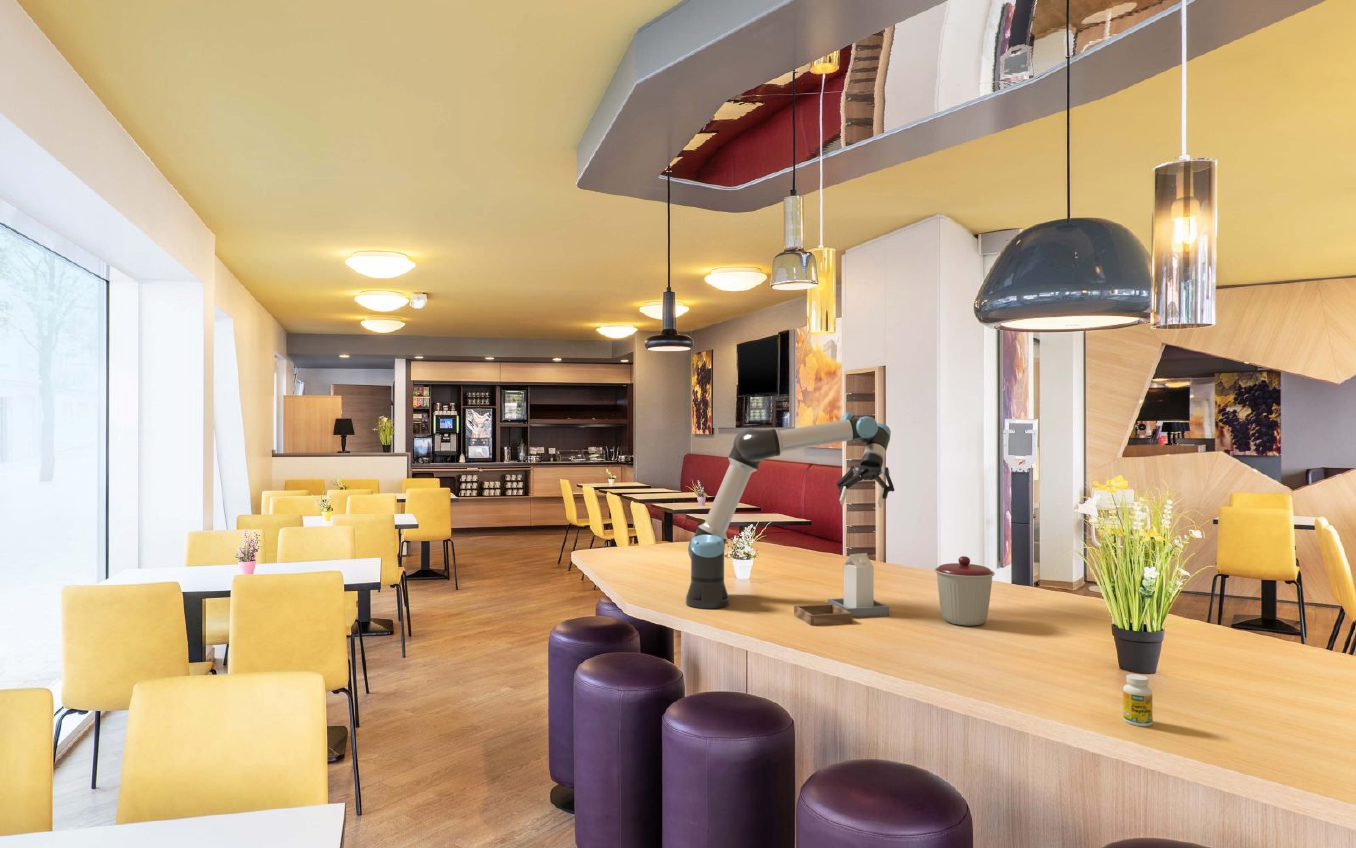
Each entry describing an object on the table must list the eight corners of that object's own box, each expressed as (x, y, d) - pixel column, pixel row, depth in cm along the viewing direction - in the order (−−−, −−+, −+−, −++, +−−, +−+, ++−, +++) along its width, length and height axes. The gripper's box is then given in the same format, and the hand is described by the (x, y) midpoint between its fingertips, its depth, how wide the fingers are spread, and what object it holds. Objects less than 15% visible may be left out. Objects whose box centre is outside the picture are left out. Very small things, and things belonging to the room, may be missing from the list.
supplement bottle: (1146, 718, 170) (1146, 673, 170) (1157, 728, 164) (1157, 681, 164) (1118, 717, 170) (1119, 672, 171) (1129, 726, 165) (1129, 680, 165)
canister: (985, 616, 262) (985, 552, 262) (1002, 630, 244) (1002, 561, 244) (928, 615, 263) (929, 551, 264) (941, 628, 245) (941, 560, 246)
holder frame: (794, 615, 262) (794, 606, 262) (833, 613, 266) (833, 604, 266) (811, 625, 249) (811, 615, 249) (852, 623, 252) (852, 613, 252)
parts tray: (828, 607, 273) (828, 599, 273) (867, 605, 277) (867, 597, 277) (847, 618, 259) (847, 608, 259) (889, 615, 262) (889, 606, 262)
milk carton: (843, 609, 269) (843, 552, 270) (860, 607, 272) (860, 551, 273) (856, 613, 263) (856, 556, 263) (873, 611, 266) (873, 554, 266)
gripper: (909, 467, 284) (898, 512, 271) (842, 465, 297) (828, 508, 284) (905, 452, 279) (894, 498, 266) (837, 451, 292) (823, 495, 279)
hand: (860, 503), depth 275 cm, fingers open, 13 cm apart
